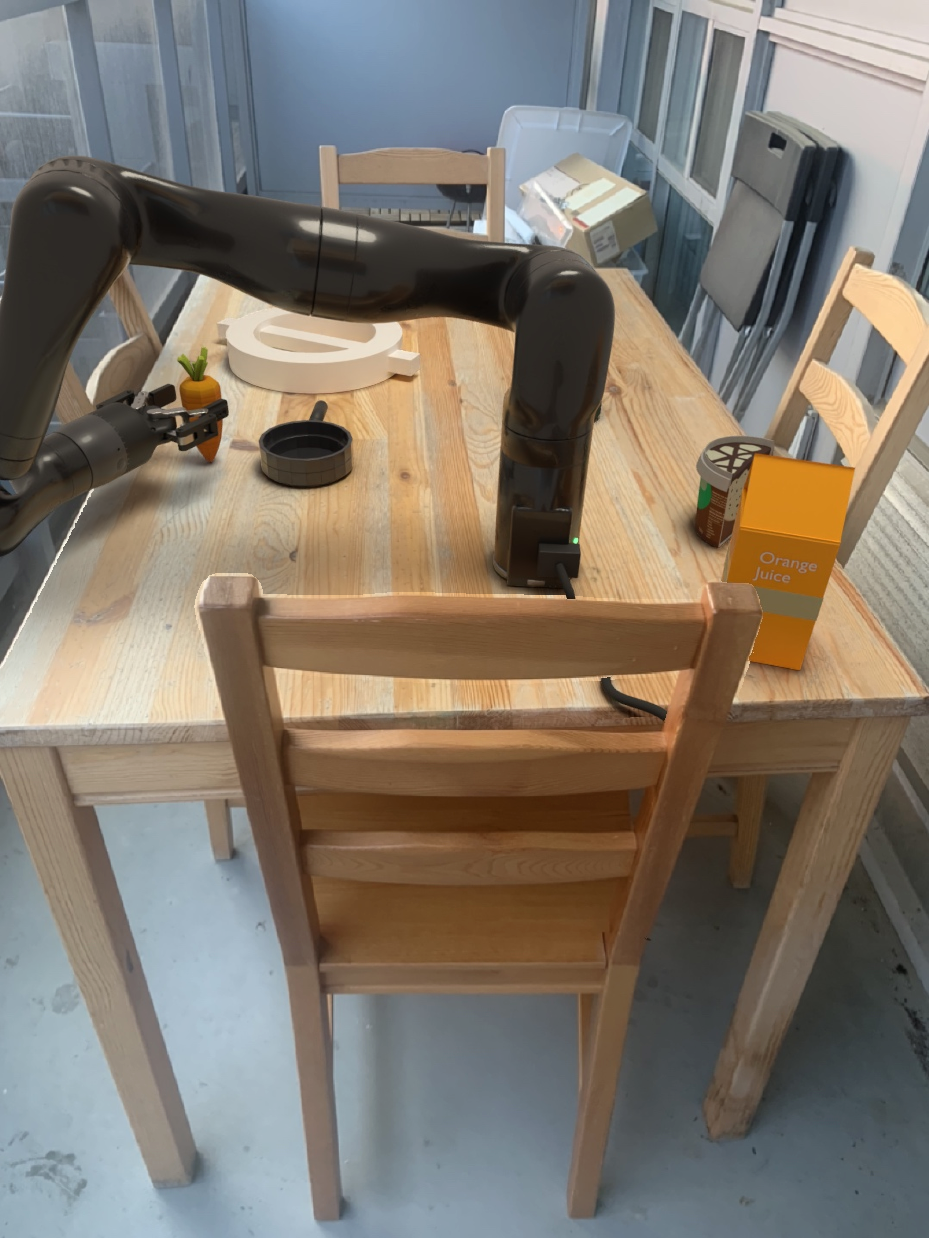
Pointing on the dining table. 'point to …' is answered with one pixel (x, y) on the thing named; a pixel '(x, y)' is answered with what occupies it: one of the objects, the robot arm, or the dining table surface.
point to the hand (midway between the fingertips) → (199, 398)
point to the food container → (724, 483)
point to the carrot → (200, 397)
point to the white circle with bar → (313, 352)
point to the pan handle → (319, 411)
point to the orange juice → (787, 548)
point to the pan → (306, 453)
